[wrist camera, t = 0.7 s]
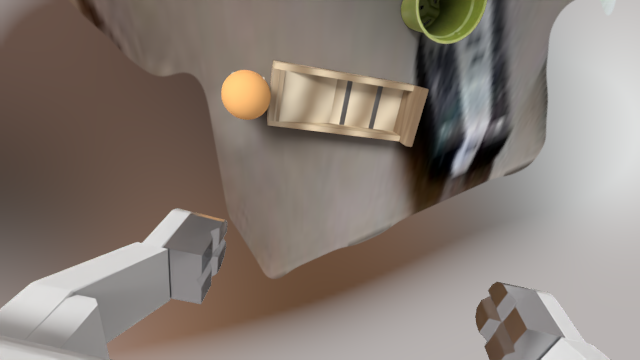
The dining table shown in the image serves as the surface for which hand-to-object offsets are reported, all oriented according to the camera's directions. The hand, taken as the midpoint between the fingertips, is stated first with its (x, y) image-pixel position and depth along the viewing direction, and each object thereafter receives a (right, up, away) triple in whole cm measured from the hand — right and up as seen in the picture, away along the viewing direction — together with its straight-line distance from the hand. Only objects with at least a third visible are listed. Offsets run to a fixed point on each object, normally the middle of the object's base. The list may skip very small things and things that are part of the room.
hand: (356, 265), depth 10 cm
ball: (-11, +14, +33) cm, 37 cm away
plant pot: (+14, +28, +37) cm, 48 cm away
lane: (+2, +15, +40) cm, 43 cm away
